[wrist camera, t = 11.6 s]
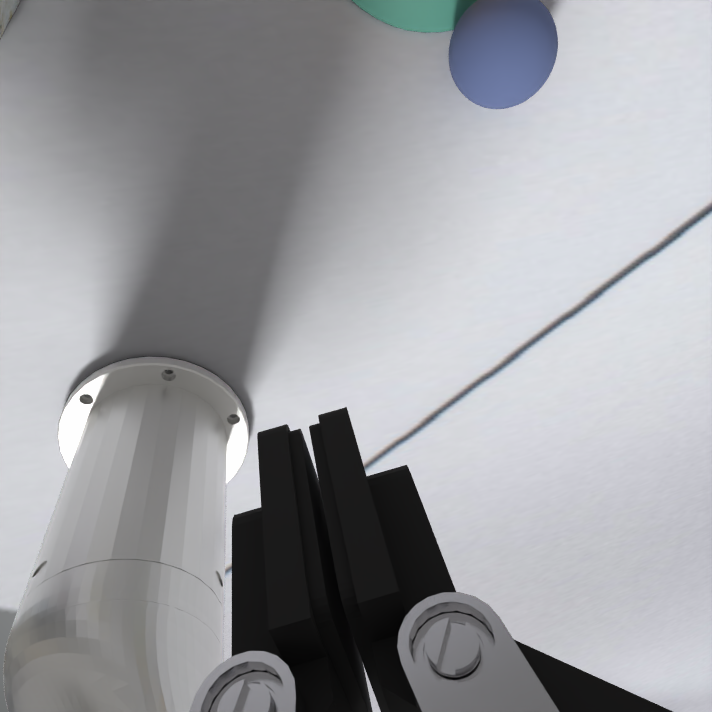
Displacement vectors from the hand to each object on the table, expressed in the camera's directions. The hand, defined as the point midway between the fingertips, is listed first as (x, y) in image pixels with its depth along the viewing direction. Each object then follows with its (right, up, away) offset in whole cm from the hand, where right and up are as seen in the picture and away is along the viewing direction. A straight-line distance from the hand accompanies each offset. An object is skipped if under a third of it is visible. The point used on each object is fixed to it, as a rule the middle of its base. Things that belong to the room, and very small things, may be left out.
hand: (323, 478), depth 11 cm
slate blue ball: (+8, +18, +20) cm, 28 cm away
